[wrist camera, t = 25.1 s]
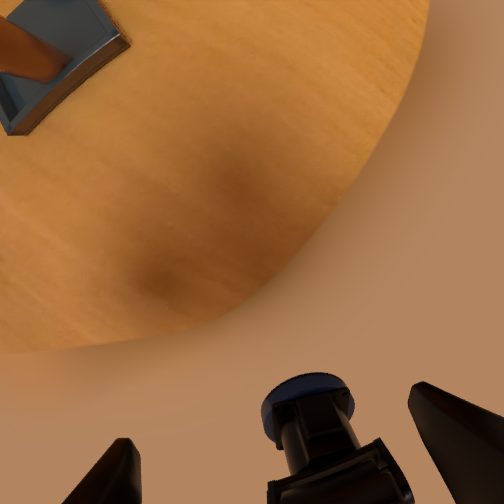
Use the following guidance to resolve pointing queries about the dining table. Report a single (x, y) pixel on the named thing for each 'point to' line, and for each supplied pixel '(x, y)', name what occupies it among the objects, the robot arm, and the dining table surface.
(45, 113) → the tray with wooden peg
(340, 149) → the dining table surface
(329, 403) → the robot arm
